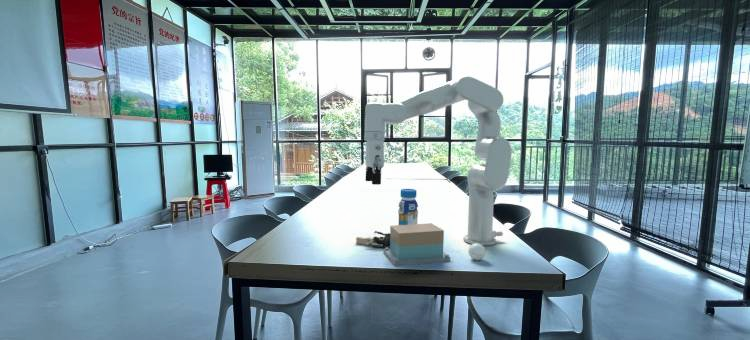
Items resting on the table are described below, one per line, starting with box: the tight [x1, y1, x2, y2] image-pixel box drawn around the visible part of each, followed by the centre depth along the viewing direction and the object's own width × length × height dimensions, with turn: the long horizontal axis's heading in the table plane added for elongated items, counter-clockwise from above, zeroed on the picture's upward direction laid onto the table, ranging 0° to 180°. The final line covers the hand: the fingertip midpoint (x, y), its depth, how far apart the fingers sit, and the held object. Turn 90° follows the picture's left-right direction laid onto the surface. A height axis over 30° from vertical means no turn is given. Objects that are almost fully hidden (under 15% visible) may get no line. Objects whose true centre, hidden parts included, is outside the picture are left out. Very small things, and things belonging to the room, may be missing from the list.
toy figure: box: [355, 230, 390, 249], centre depth 125 cm, size 7×6×15 cm
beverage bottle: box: [397, 188, 419, 225], centre depth 138 cm, size 8×8×20 cm
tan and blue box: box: [383, 223, 451, 267], centre depth 113 cm, size 20×13×10 cm, turn 104°
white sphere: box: [468, 243, 491, 261], centre depth 110 cm, size 8×6×6 cm
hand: (372, 182), depth 121 cm, fingers open, 9 cm apart
